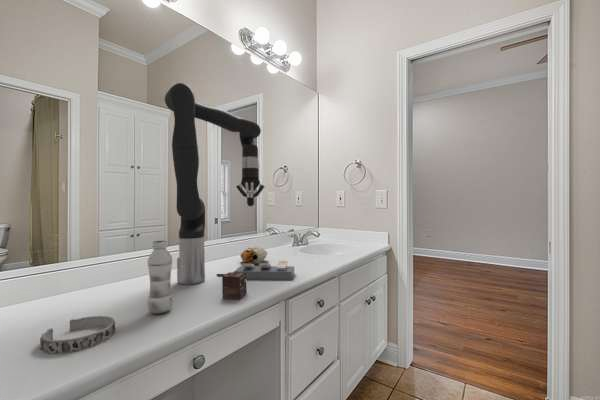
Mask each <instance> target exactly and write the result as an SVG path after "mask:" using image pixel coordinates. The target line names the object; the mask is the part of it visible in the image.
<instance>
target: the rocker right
mask: <svg viewBox="0 0 600 400" xmlns="http://www.w3.org/2000/svg"><path fill="white" fill-rule="evenodd" d="M276 266H277V268H276V269H277V270H286V268H287V266H288V260H278V261H277V264H276Z"/></svg>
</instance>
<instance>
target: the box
mask: <svg viewBox="0 0 600 400" xmlns="http://www.w3.org/2000/svg"><path fill="white" fill-rule="evenodd" d="M224 274H225V275H224V276H221V278H222V281H221V283H222V284H221V286H222V299H223V300H241V299H243V297H245V296H246V295H247V292H248V291H247V289H248V288H247V280H246V272H234V271H229V272H227V273H224Z"/></svg>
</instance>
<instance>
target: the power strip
mask: <svg viewBox="0 0 600 400" xmlns="http://www.w3.org/2000/svg"><path fill="white" fill-rule="evenodd" d="M276 268H277V265H276V266H274V265H273V266H272V265H271V267H270V268H260V266H259V265H254V267H253V268H244V266H242V265H240V266H238V268H237V269H235V270H234V271H233V272H246V281H247V280H251V281H252V280H254V281H255V280H257V281H258V280H259V281H261V280H263V281H265V280H267V281H292V280H293V279H294V276H295V265H293V266H292V265H290V266H288V265H287V268H286V270H277V269H276ZM225 274H226V273H217V274H216V275H215V276H216V277H222V276H224V275H225Z"/></svg>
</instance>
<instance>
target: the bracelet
mask: <svg viewBox="0 0 600 400" xmlns="http://www.w3.org/2000/svg"><path fill="white" fill-rule="evenodd" d="M89 328H90V329H91V328H103V329H101V330H99V331H95V332H92V333H90V334H88V335H83V336H80V337H76V338H70V339H59V340H54V337H53V336H54V328H48V329H47V330H46V331H45V332H44V333H42V334H41V337H40V338H39V349H40V350H42V352H45V353H47V354H51V355H54V354H56V355H57V354H64V353H65V354H67V353H73V352H74V353H75V352H77V351H78V352H79V351H81V350H82V351H83V350H85V349H88V348H92V347H93V346H96V345H99V344H101V343H103V342H106V341H107V340H109V339H110V338H111V337H112V336H113V335H114V334H115V333H116V321H115V319H114V318H113V317H112V316H106V315H93V316H84V317H79V318H74V319H73V318H72V319H70V320H69V332H70V333H71V332H75V331H78V330H83V329H89Z"/></svg>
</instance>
